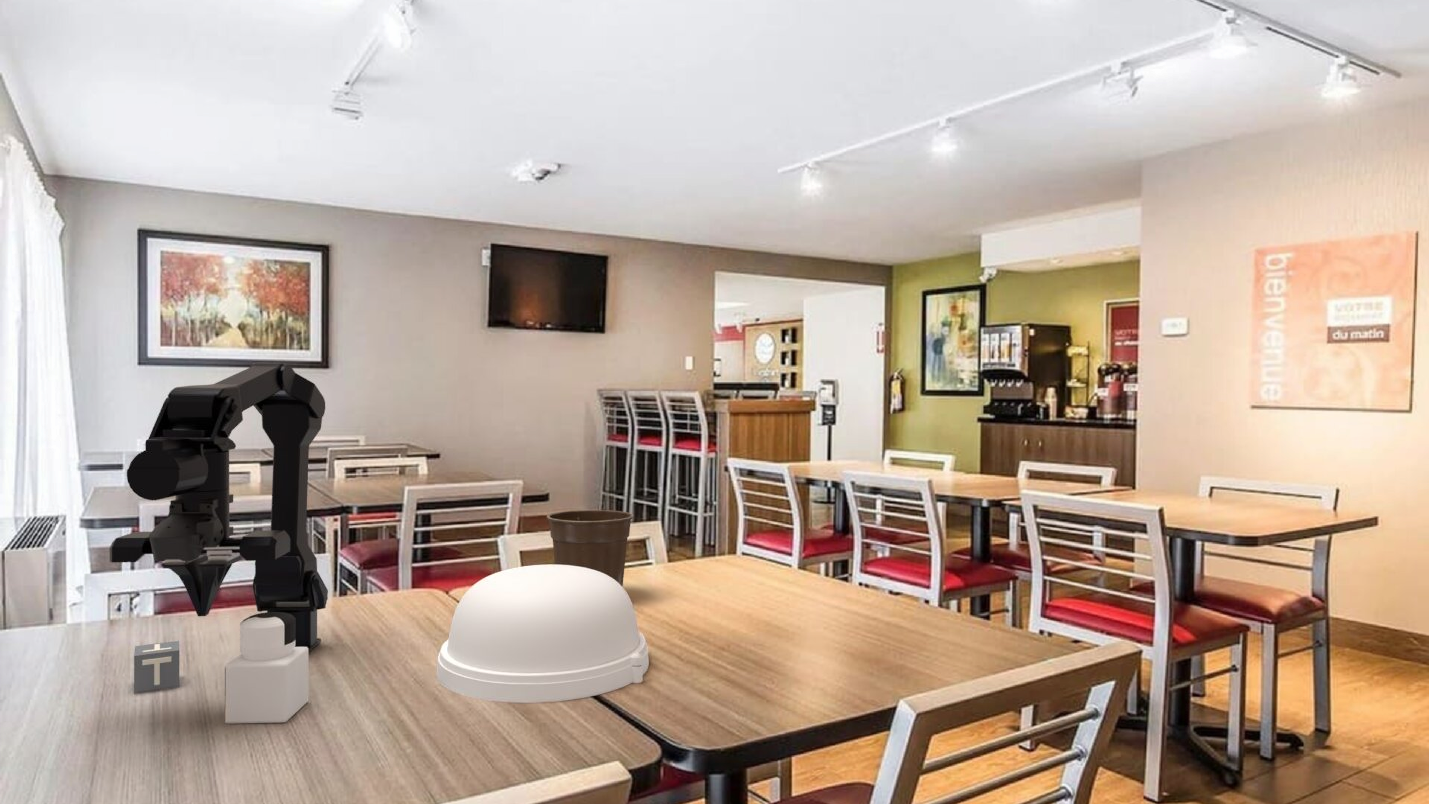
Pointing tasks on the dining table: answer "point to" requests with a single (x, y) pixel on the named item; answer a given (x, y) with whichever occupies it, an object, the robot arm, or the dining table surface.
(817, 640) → the dining table surface
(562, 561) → the plant pot
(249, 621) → the medicine bottle
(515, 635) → the dome cover
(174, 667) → the lettered cube
